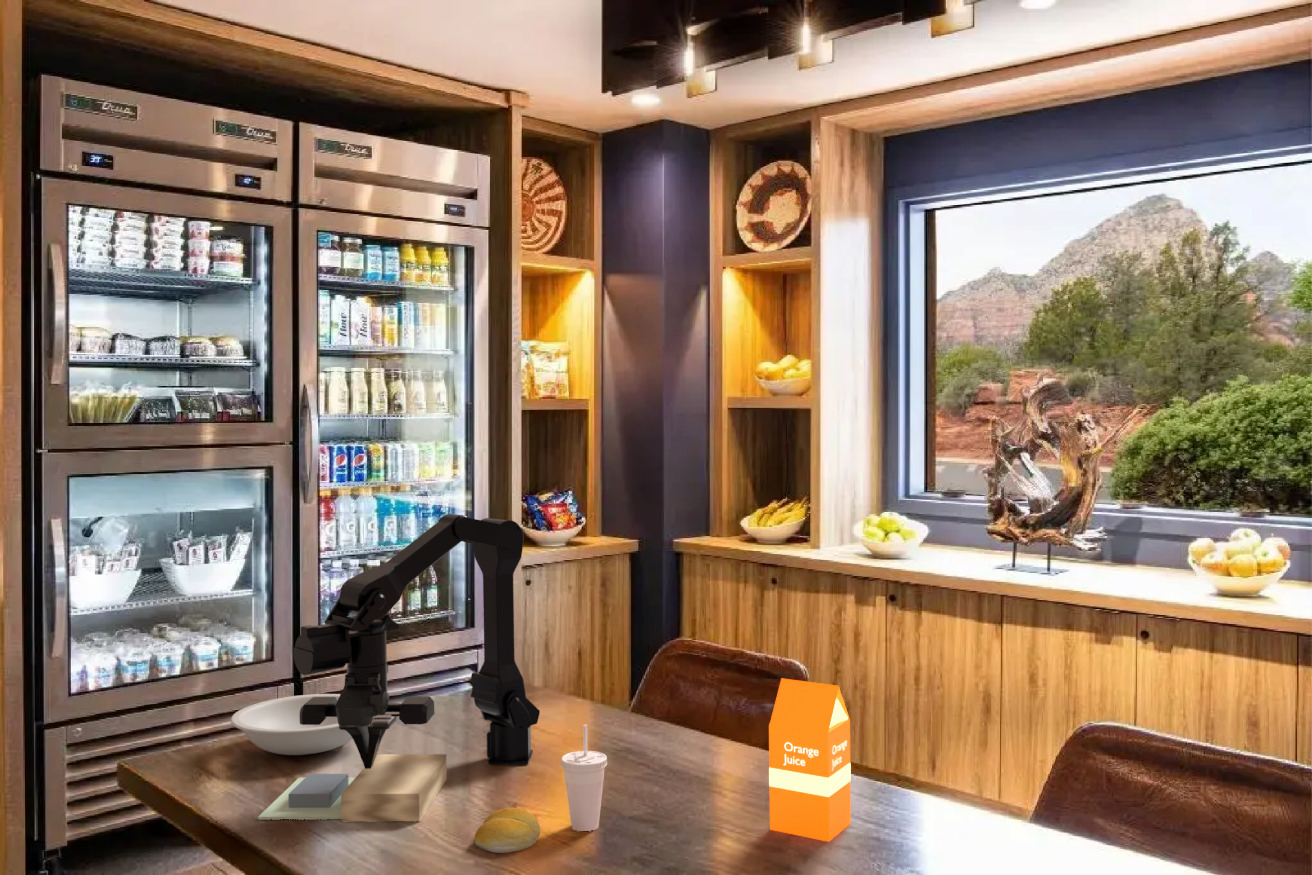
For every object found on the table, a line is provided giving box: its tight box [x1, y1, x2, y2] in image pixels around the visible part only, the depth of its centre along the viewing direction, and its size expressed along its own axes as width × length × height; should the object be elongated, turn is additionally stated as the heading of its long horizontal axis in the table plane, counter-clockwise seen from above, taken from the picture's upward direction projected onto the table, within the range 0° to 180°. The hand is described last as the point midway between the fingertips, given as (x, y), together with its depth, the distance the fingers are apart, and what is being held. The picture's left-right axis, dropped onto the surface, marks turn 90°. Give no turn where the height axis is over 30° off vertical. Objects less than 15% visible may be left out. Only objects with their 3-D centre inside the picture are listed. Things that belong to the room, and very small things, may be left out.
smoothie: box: [560, 724, 608, 832], centre depth 158 cm, size 6×6×14 cm
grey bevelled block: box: [289, 773, 349, 808], centre depth 170 cm, size 6×9×2 cm, turn 178°
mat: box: [257, 776, 357, 821], centre depth 171 cm, size 12×17×1 cm
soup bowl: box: [230, 693, 353, 756], centre depth 195 cm, size 24×24×7 cm
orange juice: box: [768, 677, 852, 842], centre depth 157 cm, size 8×9×20 cm
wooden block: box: [341, 753, 448, 823], centre depth 170 cm, size 11×18×4 cm, turn 178°
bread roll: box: [473, 807, 541, 854], centre depth 153 cm, size 8×9×4 cm
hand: (368, 767), depth 170 cm, fingers closed
